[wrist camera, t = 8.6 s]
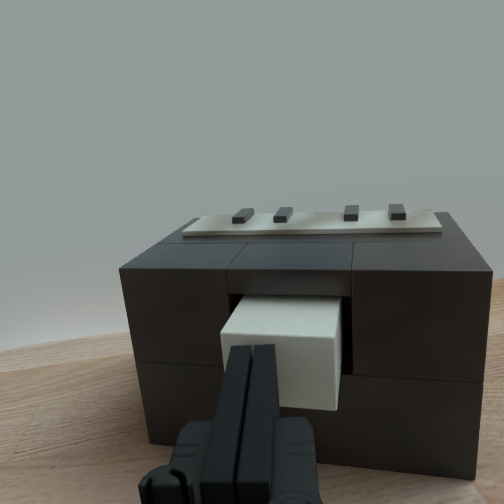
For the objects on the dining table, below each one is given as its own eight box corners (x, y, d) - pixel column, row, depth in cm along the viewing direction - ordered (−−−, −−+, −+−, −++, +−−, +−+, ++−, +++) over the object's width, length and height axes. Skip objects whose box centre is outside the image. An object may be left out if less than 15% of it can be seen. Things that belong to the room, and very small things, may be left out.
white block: (227, 402, 18) (219, 332, 17) (263, 324, 25) (259, 269, 24) (337, 412, 17) (335, 337, 16) (344, 327, 23) (343, 270, 22)
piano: (149, 443, 24) (115, 254, 21) (209, 349, 33) (192, 208, 30) (475, 480, 20) (495, 253, 17) (440, 361, 29) (449, 200, 26)
